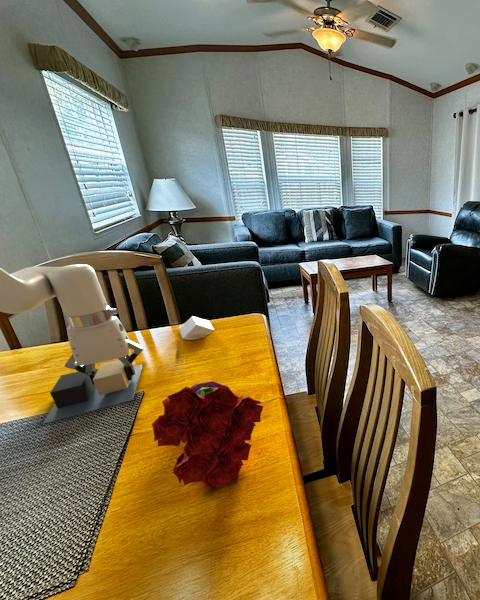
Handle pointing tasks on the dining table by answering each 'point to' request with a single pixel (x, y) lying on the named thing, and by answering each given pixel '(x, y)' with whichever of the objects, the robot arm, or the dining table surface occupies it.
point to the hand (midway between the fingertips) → (115, 380)
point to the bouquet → (208, 432)
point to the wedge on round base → (195, 328)
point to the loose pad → (110, 377)
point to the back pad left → (72, 389)
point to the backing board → (96, 400)
